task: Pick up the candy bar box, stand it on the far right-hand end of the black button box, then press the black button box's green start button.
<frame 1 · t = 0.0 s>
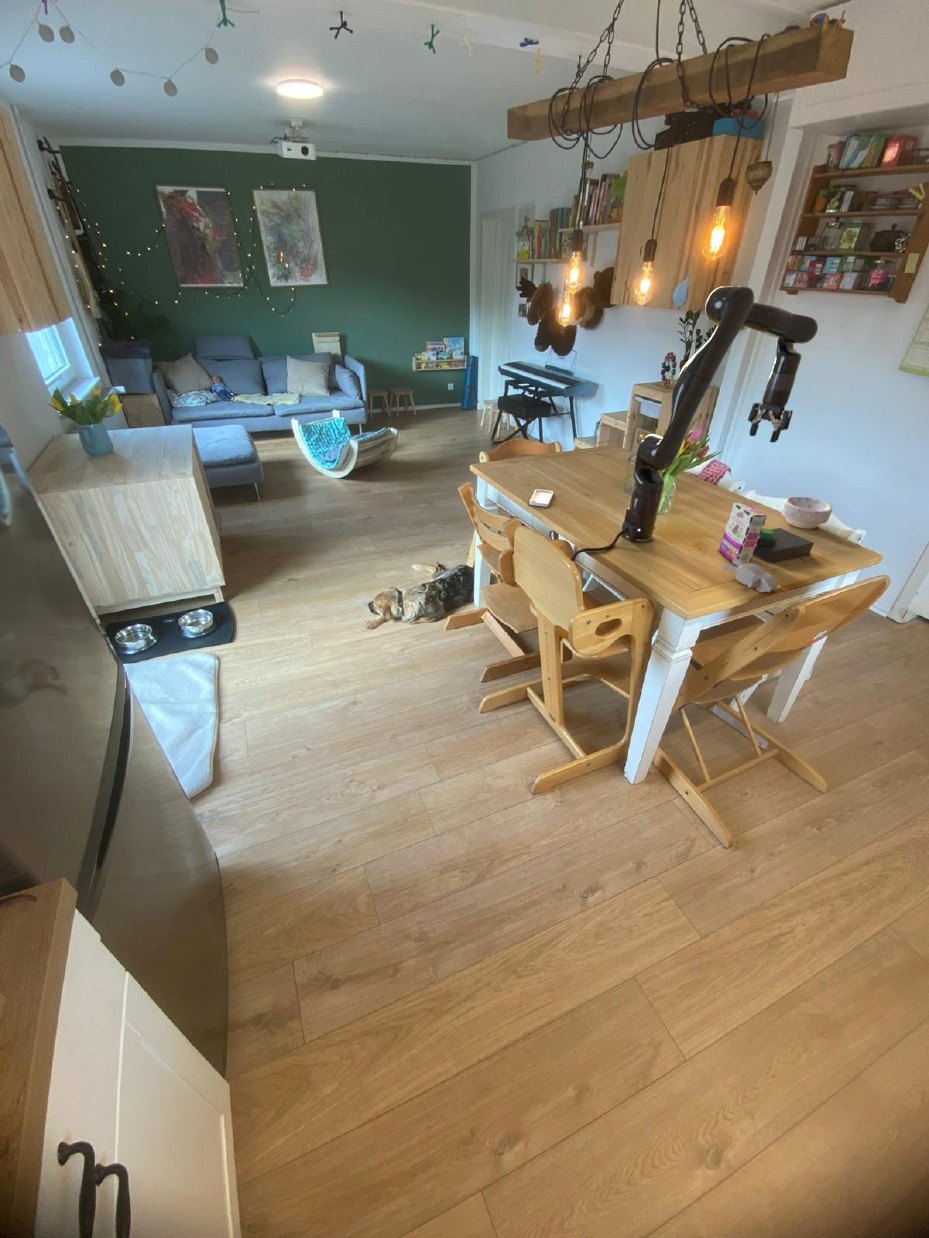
hand: (762, 439, 180), 29 cm above the table, tool pointing down, fingers open, 8 cm apart
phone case: (541, 500, 209), on the table
black button box: (772, 550, 175), on the table
paper bowls: (800, 524, 194), on the table
candy bar box: (733, 558, 169), on the table
start button: (765, 533, 169), point 7 cm above the table, slide at 0.1 cm
bunny figurine: (747, 583, 155), on the table
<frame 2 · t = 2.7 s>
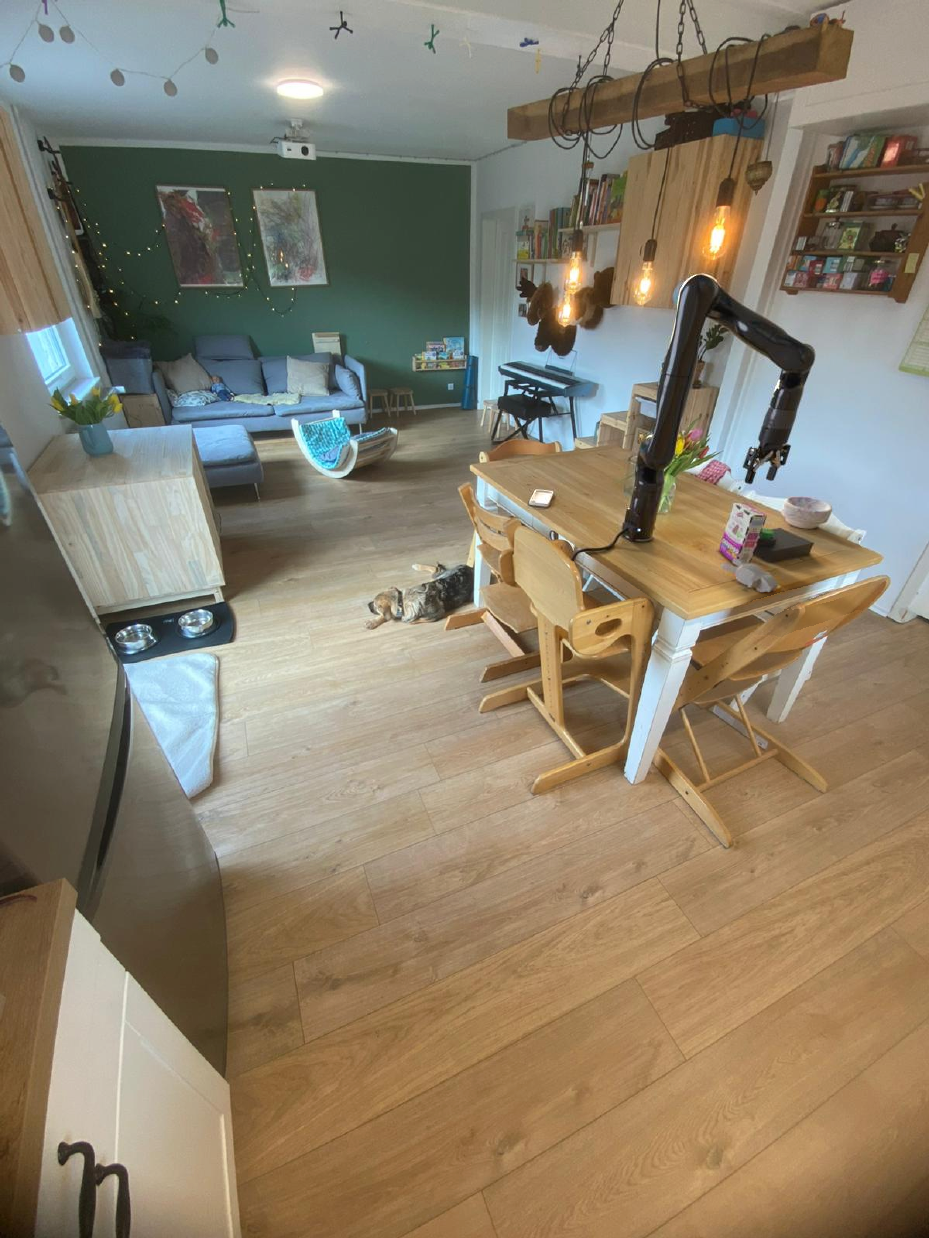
hand: (758, 481, 156), 25 cm above the table, tool pointing down, fingers open, 8 cm apart
nothing on the table moved.
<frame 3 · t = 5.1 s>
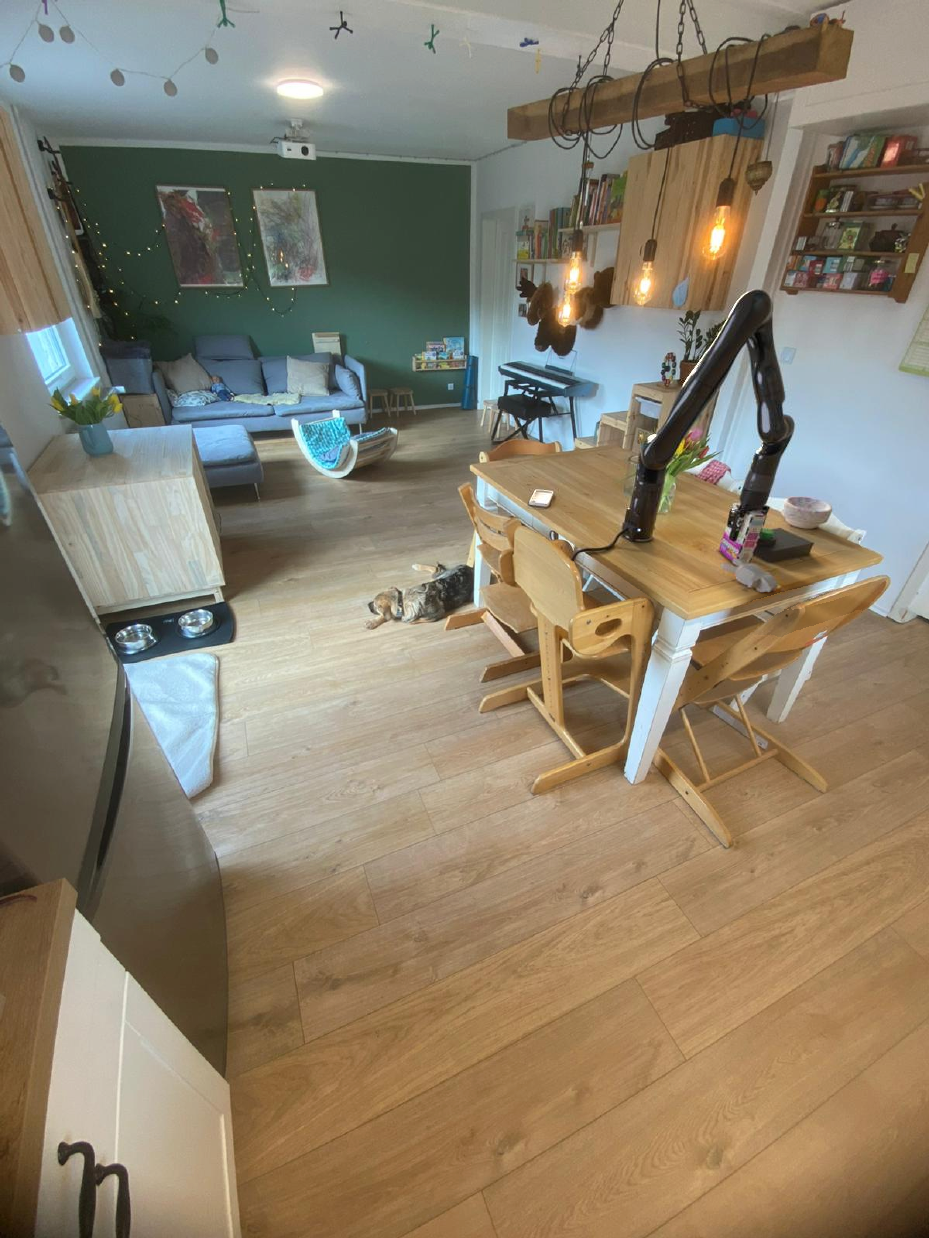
hand: (740, 538, 165), 7 cm above the table, tool pointing down, fingers closed on candy bar box, 6 cm apart
candy bar box: (733, 558, 169), on the table, touching gripper
everything else where it was.
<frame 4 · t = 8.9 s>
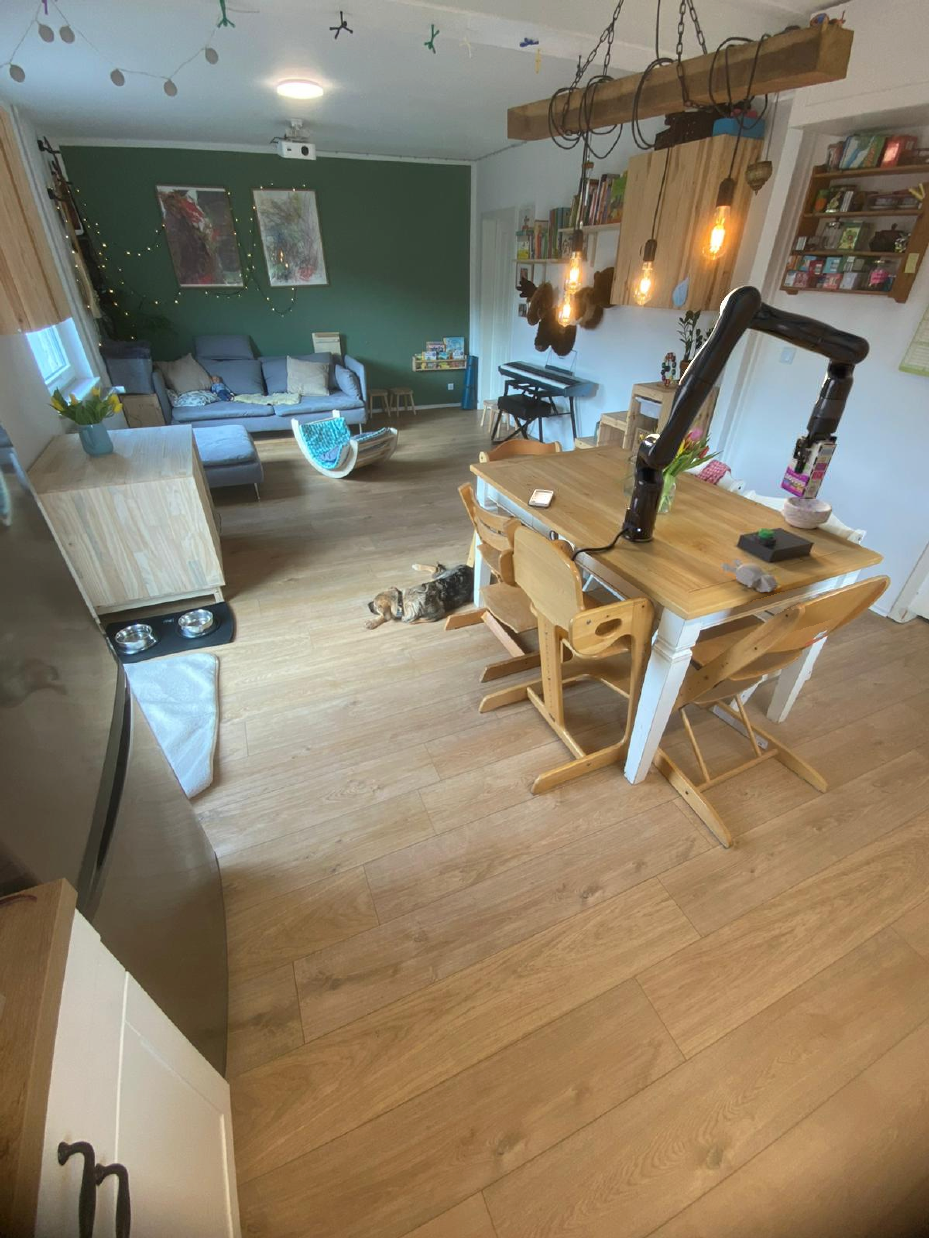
hand: (805, 472, 161), 26 cm above the table, tool pointing down, fingers closed on candy bar box, 6 cm apart
candy bar box: (797, 493, 164), point 19 cm above the table, touching gripper
everything else where it was.
when the fingers open (11 cm above the table, at t = 13.0 s): candy bar box stays where it is, resting on black button box.
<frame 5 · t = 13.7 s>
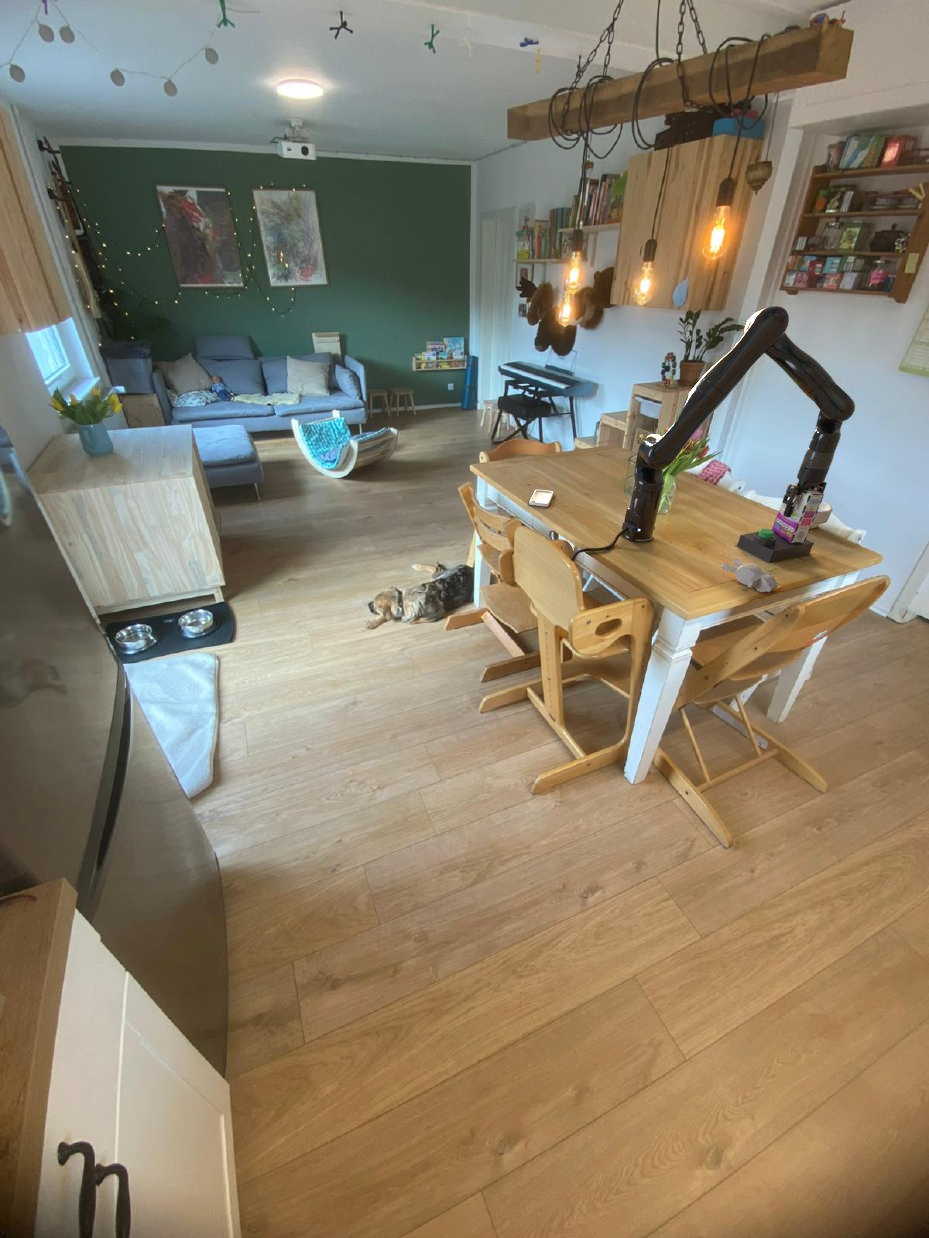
hand: (796, 515, 170), 12 cm above the table, tool pointing down, fingers open, 8 cm apart
candy bar box: (787, 537, 174), point 4 cm above the table, touching black button box
everything else where it was.
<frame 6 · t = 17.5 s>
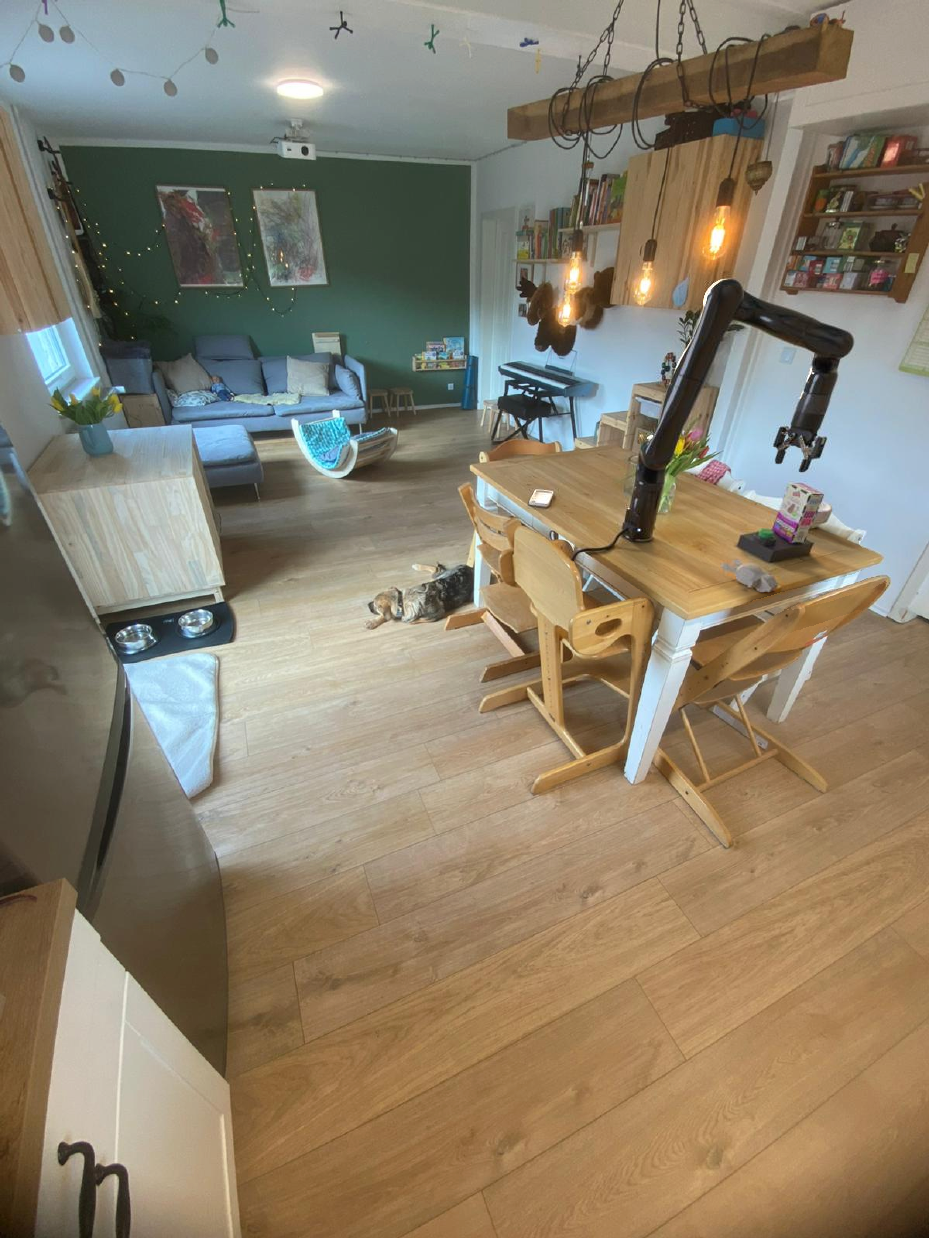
hand: (789, 467, 157), 28 cm above the table, tool pointing down, fingers open, 7 cm apart
nothing on the table moved.
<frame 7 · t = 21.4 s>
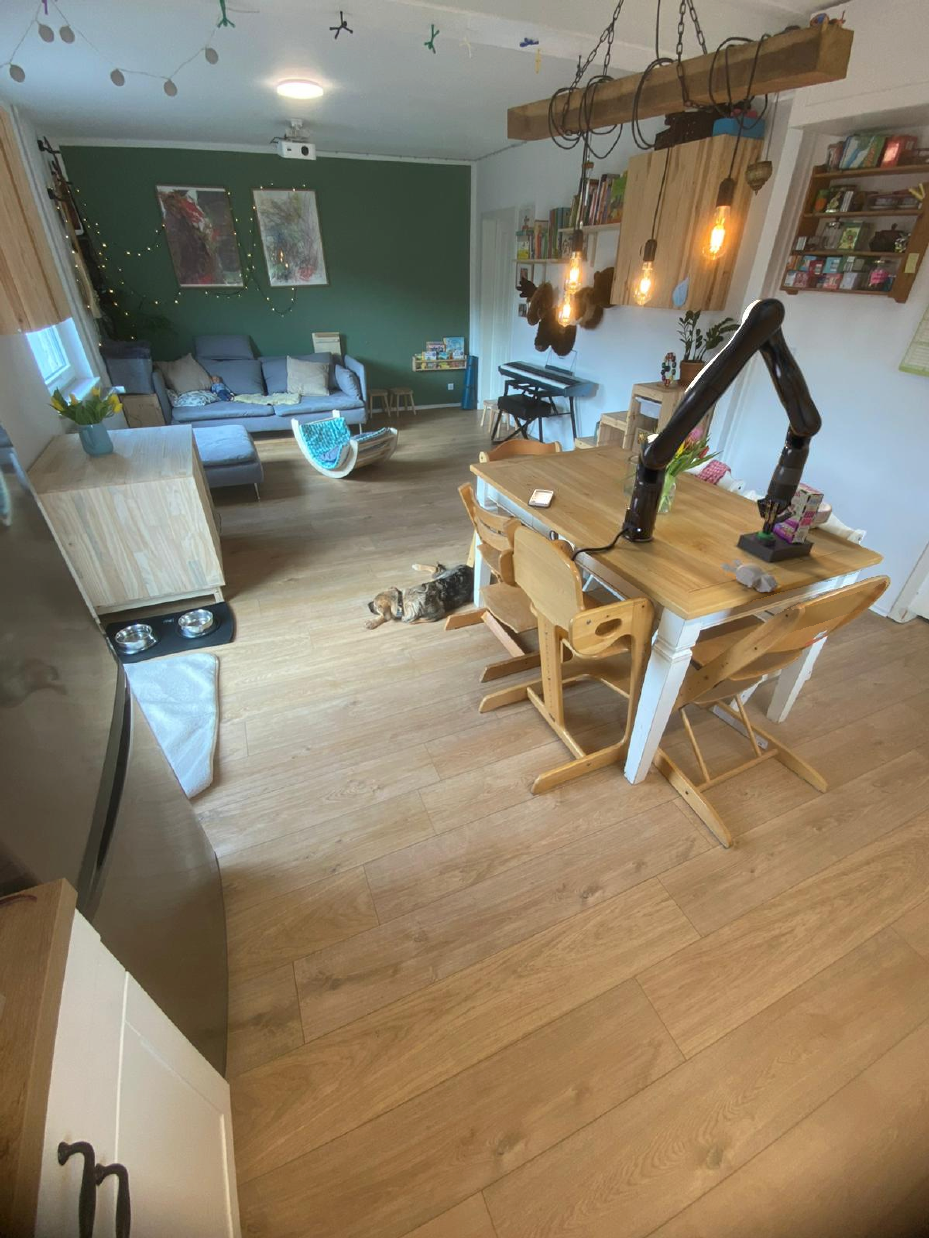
hand: (766, 533, 169), 7 cm above the table, tool pointing down, fingers closed
start button: (765, 536, 169), point 6 cm above the table, slide at -0.7 cm, touching gripper
everything else where it was.
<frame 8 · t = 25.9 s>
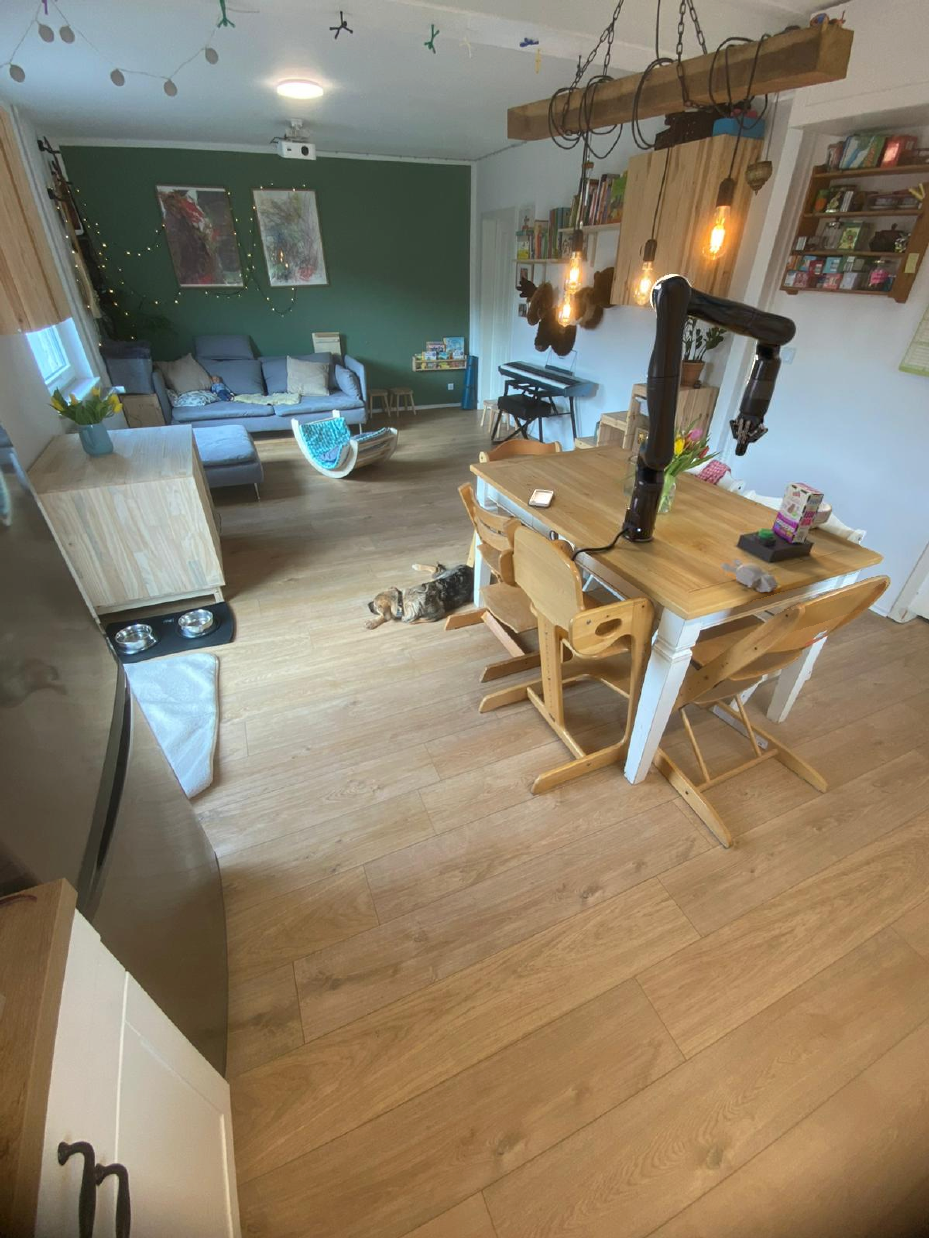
hand: (739, 455, 163), 29 cm above the table, tool pointing down, fingers closed
start button: (765, 533, 169), point 7 cm above the table, slide at 0.1 cm
everything else where it was.
at the end: candy bar box inside the target area on the black button box (0.4 cm from its centre), point 3.8 cm above the black button box's base; candy bar box tilted 0°; start button pushed in 1.1 cm at the most during the clip, back to where it started at the end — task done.
